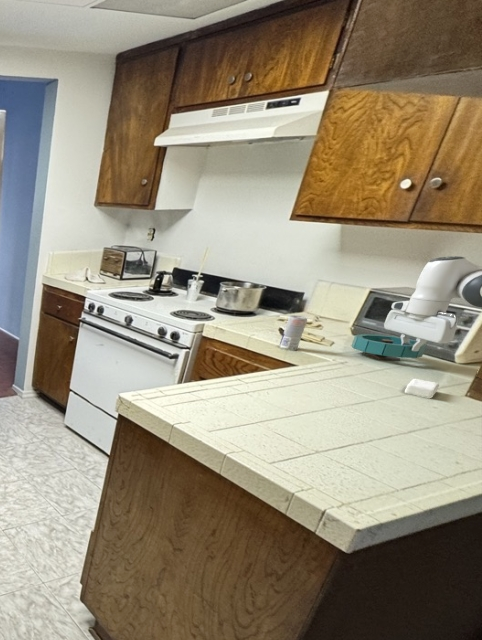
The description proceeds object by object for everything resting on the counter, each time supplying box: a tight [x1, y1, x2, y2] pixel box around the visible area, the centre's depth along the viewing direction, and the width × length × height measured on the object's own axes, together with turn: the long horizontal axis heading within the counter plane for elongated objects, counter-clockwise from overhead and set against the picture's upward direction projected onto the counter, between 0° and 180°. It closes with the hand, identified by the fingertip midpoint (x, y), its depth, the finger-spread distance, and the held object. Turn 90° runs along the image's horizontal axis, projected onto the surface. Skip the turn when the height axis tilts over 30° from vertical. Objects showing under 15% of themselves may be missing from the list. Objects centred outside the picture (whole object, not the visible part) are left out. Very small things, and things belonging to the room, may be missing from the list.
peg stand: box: [361, 339, 401, 362], centre depth 165 cm, size 7×7×6 cm
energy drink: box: [278, 315, 308, 351], centre depth 173 cm, size 5×5×12 cm
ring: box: [350, 333, 428, 359], centre depth 164 cm, size 17×17×4 cm
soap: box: [404, 378, 440, 399], centre depth 133 cm, size 9×6×3 cm, turn 127°
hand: (408, 349), depth 156 cm, fingers closed on ring, 2 cm apart
